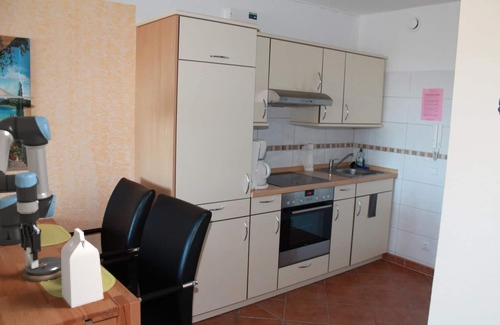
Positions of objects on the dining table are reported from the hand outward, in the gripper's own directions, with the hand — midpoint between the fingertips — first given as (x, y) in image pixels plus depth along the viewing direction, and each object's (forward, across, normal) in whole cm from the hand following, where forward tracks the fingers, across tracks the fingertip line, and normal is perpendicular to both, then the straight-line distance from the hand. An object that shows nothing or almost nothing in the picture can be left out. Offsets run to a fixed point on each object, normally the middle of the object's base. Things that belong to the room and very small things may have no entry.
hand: (32, 266), depth 175 cm
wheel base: (+5, 0, -6) cm, 7 cm away
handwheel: (+3, 0, -6) cm, 6 cm away
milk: (+5, -31, -2) cm, 31 cm away
